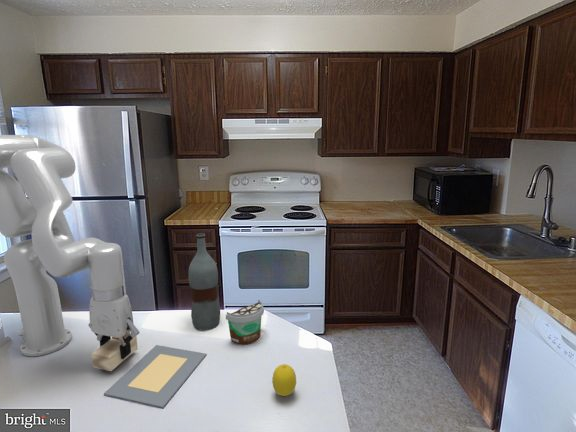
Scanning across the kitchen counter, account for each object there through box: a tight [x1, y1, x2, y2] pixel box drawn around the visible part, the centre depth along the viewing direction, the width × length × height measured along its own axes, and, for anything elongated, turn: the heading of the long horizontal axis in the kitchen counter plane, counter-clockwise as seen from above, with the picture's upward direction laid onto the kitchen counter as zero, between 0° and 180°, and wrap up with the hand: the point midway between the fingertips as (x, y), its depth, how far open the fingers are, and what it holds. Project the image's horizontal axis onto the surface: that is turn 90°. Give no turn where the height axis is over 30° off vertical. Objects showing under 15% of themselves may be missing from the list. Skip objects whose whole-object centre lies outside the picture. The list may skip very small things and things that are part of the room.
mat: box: [103, 344, 208, 410], centre depth 89 cm, size 16×20×1 cm
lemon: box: [271, 363, 297, 397], centre depth 81 cm, size 6×6×8 cm
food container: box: [225, 299, 265, 346], centre depth 102 cm, size 12×6×10 cm, turn 131°
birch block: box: [90, 335, 139, 372], centre depth 93 cm, size 6×10×4 cm, turn 165°
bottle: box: [187, 233, 221, 331], centre depth 109 cm, size 9×9×30 cm
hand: (116, 353), depth 93 cm, fingers closed on birch block, 5 cm apart
